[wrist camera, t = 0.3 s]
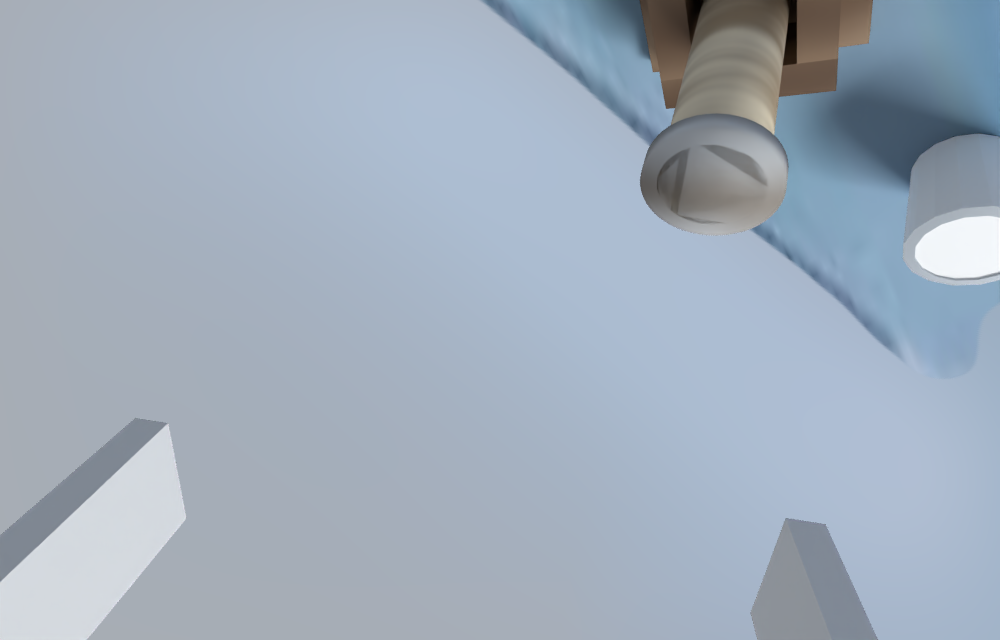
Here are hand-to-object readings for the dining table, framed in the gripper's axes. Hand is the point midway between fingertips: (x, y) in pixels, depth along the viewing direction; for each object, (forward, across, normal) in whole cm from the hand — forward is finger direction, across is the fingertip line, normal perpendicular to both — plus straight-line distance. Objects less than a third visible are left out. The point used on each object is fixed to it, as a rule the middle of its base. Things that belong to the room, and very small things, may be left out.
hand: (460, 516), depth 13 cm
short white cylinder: (+34, +26, +3) cm, 43 cm away
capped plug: (+30, +10, +12) cm, 34 cm away
